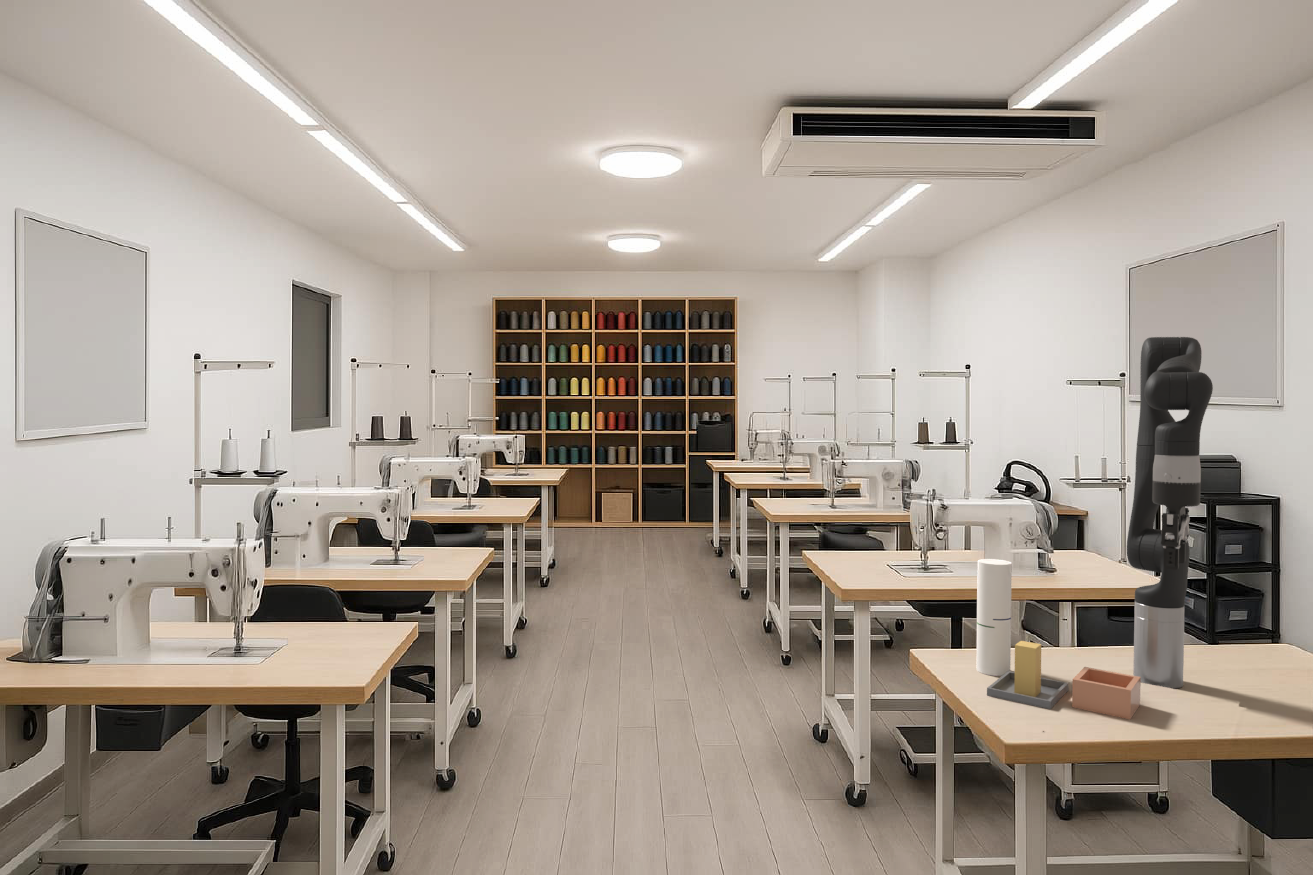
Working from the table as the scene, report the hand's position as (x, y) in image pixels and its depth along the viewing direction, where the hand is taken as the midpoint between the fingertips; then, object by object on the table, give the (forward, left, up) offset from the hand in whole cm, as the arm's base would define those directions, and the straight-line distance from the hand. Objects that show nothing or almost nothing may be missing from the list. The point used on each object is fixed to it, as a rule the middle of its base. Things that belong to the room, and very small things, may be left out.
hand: (1174, 565), depth 151 cm
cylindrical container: (-11, -36, -30) cm, 48 cm away
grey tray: (+2, -25, -30) cm, 39 cm away
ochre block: (+2, -25, -29) cm, 38 cm away
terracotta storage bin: (0, -11, -30) cm, 32 cm away
